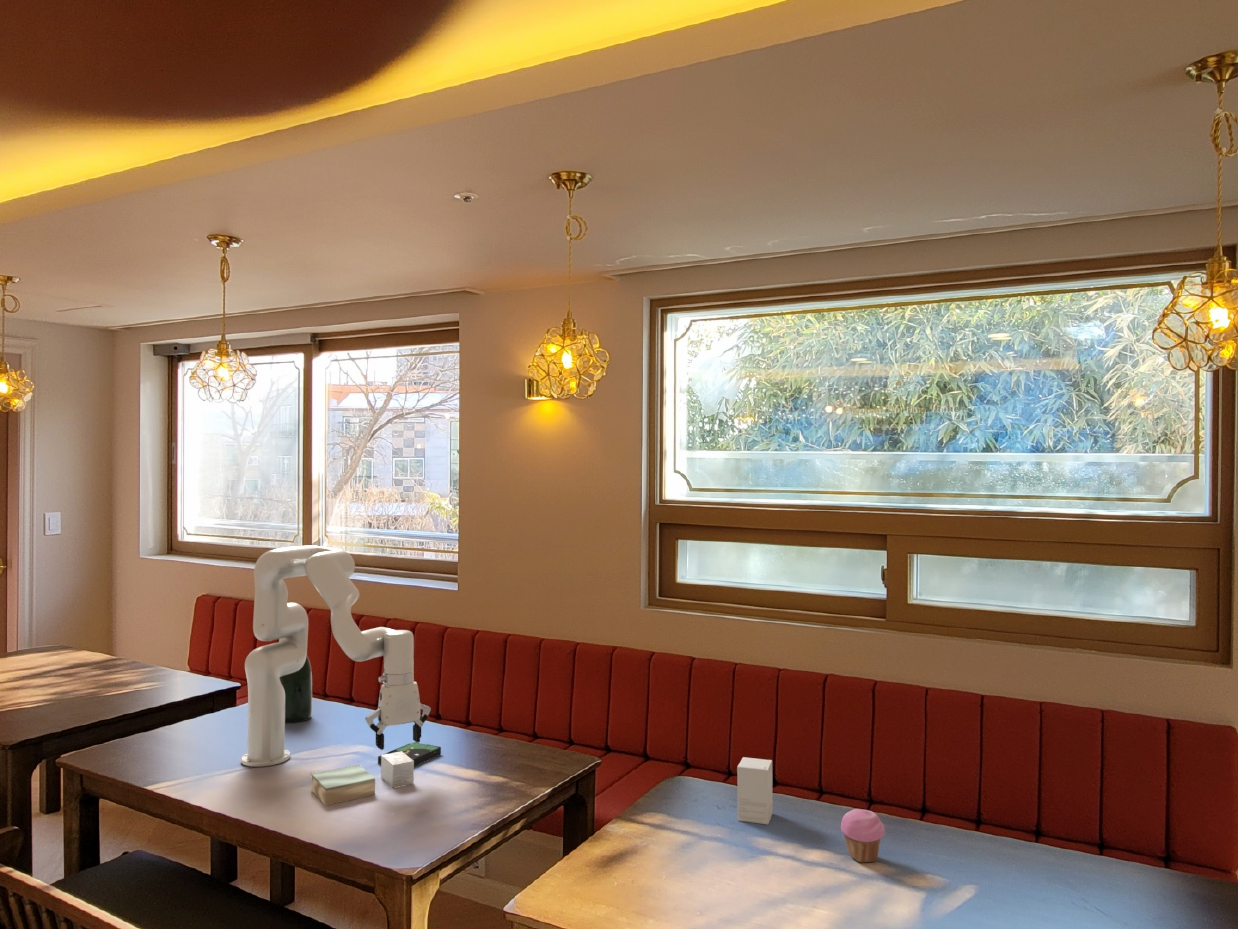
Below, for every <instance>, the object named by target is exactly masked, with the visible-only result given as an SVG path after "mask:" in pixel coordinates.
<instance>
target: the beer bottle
mask: <svg viewBox="0 0 1238 929" xmlns="http://www.w3.org/2000/svg"><path fill="white" fill-rule="evenodd" d="M279 679H280V682H281V684H282V686H283V688H284V691H285V723H287V722H288V723H289V722H292V723H299V722H304V721H307V720H309V719H310V718H311V717H312V714H313V675H312V665H311V661H310V659H309V656H308V654H307V655H306V660H305V663H304V665H303V667H302V668H301V669H300V670H298V671H296V672H294V673H291V674H288V675H284V676H282V677H279ZM288 723H287V724H288Z"/></svg>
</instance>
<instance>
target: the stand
mask: <svg viewBox="0 0 1238 929" xmlns="http://www.w3.org/2000/svg"><path fill="white" fill-rule="evenodd" d="M311 792H313V794H315V795H316V797H319V798H320V799H321V800H320V799H319V798H318V799H319V800H320V801H321V802H322V803H323V804H324V805H325V806H329V804H330V805H333V804H332V803H334V804H337V803H342V802H347V801H352V800H356V799H361V798H366V797H370V796H373V795H376V778H375V776H373V775H372V773H370V772H368V771H367V770H366V769H365V768H364V767H363V766H361V765H360V764H356V765H355V764H354V765H350V766H345V767H341V768H335V769H330V770H324V771H319V772H316V773H315V772H314V773H311Z"/></svg>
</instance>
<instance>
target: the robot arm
mask: <svg viewBox="0 0 1238 929" xmlns="http://www.w3.org/2000/svg"><path fill="white" fill-rule="evenodd" d="M355 569H356V564H355V560H354V558H353V556H352V555H351V554H350V553H349V552H347V551H345V550H344V549H339V548H331V547H324V546H318V545H309V544H308V545H299V546H286V547H279V548H274V549H270V550H268V551H266V552H264V553H263V554H261V555H260V556H259V558H257V560H256V562H255V565H254V569H253V580H254V602H253V604H254V605H253V606H254V607H253V618H252V619H253V621H252V630H253V634H254V637H255V638H256V639H257V640H258V641H261V642H272V641H276V640H278V642H273V643H270V644H265V645H262V646H259V647H257V648H255V649H254V648H253V650H252V651H250V652H249V654H248V655H247V656H246V658H245V661H244V670H245V671H244V672H245V675H246V676H245V677H246V681H247V692H248V694H247V697H248V699H247V701H248V702H247V707H248V708H247V749H246V752H247V753H245V754H243V755H242V756H241V757H240V760H241V761H240V762H241V765H243V766H246V767H251V768H252V767H255V768H258V767H259V768H260V767H261V768H262V767H269V766H275V765H278V764H281V763H284V762H286V761H288V760H289V759H290V758H291V751H289V750H288V749H285V746H286V745H285V744H286V742H285V741H286V740H285V737H286V736H285V735H286V733H285V732H286V731H285V730H286V722H285V691H284V688H283V686H282V684H281V682H280V679H279V677H282V676H284V675H288V674H291V673H294V672H296V671H298V670H300V669H301V668H302V667H303V665H304V663H305V660H306V655H307V656H308V641H309V640H308V638H309V637H308V636H309V617H308V613H307V610H306V609H305V608H304V607H303V606H302V605H300V604H299V603H297V602H288V597H289V591H288V587H287V585H286V583H285V579H289V578H298V577H305V576H307V578H308V579H309V582H311V583H312V585H313V586H314V588H315V590H317V592H318V594H319V595H320V596H321V598H322V599H323V601H324V602H325V603H326V605H327V607H328V608H329V609H330V625H331V626H330V627H331V632H332V635H333V637H334V639H335V641H336V642H337V645H338V646H339V647H340V648H341V650H342V651H343V652H344V654H345V655H346V656H347V657H348V658H349V659H351V660H352V661H354V662H365V661H369V660H372V659H374V658H379V657H383V673H382V675H381V676H379V677H378V682H379V683H383V684H381V686H380V690H379V697H378V706H377V709H376V710H374V711H373V712H371V713H370V714H369V715H367V716H366V717H365V722H366V724H367V725H368V727H369V729H371V730H372V731H374V733H375V745H376V747H377V748H378V750H381V751H382V750H384V749H385V734H384V733H383V732H384V731H385V730H386V727H394V726H395V727H396V726H398V725H405V724H410V723H414V724H413V725H412V740H413V741H414V742H417V743H420V742H421V738H422V727H423V726H424V724H425V722H426V721H427V719H428V717H429V715H430V712H431V711H432V710H431V709H432V708H431V707H430V706H428V705H425V704H422V703H421V701H420V699H421V698H420V693H419V686H418V683H417V681H414V680H415V679H414V678H415V677H414V676H415V675H414V673H415V672H414V670H415V669H414V668H415V667H414V665H415V664H414V660H415V659H414V656H415V655H414V654H415V653H414V652H415V651H414V650H415V649H414V648H415V646H414V645H415V644H414V643H415V642H414V638H415V637H414V634H413V632H412V631H410V630H408V629H392V628H389V627H385V626H379V627H375V628H370V629H366V630H361V629H360V628H359V626H358V625H357V624H356V622H355V620H354V618H353V616H352V606H354V604H355V603H356V602H357V601H358V599H359V598H360V591H359V589H358V588H357V587H356V585H355V584H354V582H352V580H351V579H350V577H352V575H353V574H354V572H355ZM421 710H422V714H421ZM376 718H377V720H378V723H377V724H375V722H374V720H375V719H376Z"/></svg>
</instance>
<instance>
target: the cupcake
mask: <svg viewBox="0 0 1238 929" xmlns="http://www.w3.org/2000/svg"><path fill="white" fill-rule="evenodd" d="M840 830H841V833H842V834H843V837H844V840H845V844H846V848H847V851H848V854H849V855H850V857H853V859H855V861H856V862H859V863H871V862H876V861H877V860H878V856H879V851H880V844H881V839H883V838H884V836H885V833H886V828H885V825H884V823H882V821H881V819H880V817H879V815H878V814H877V813H875V812H874V811H872V810H868V809H861V808H854V809H851V810H849V811H848V812H846V813H845V814H844V815H843V817H842V819H841V823H840Z"/></svg>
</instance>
